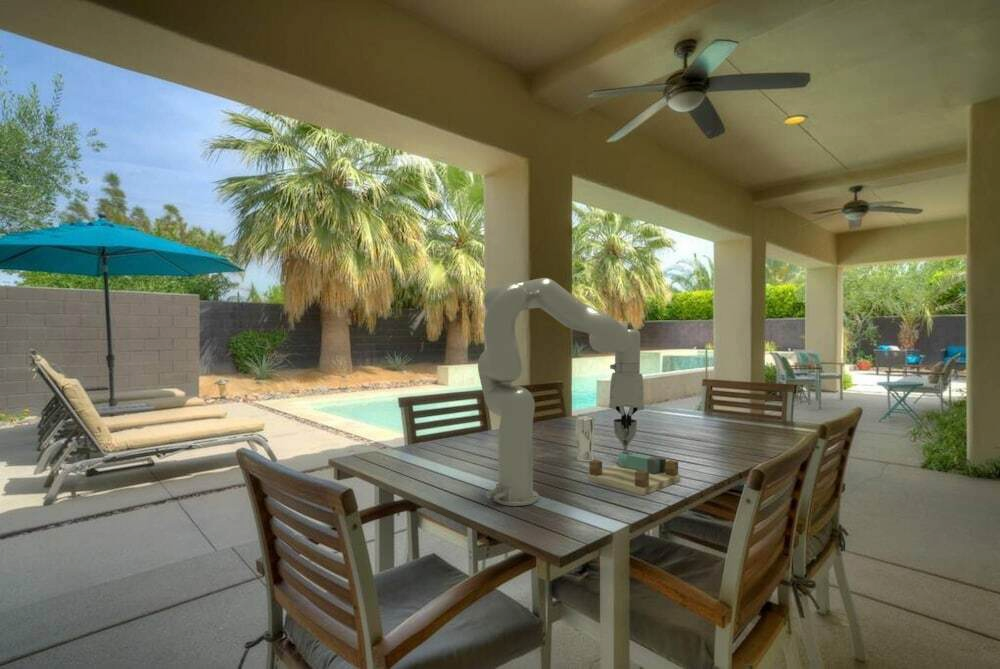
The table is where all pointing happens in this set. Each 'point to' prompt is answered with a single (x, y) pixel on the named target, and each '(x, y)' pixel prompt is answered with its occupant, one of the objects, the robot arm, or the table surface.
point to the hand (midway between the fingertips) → (626, 427)
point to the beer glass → (585, 438)
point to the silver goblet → (625, 433)
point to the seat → (634, 477)
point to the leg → (639, 462)
